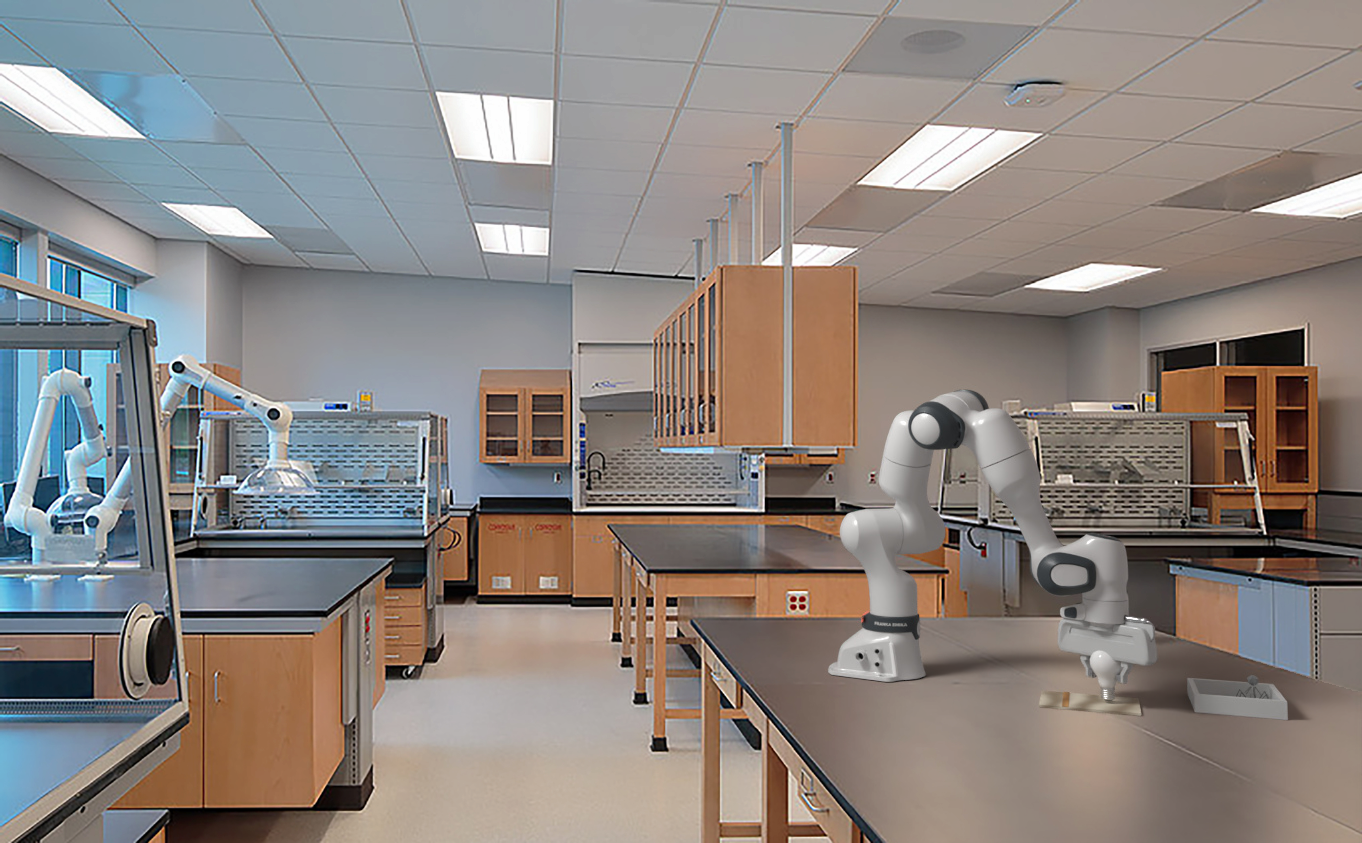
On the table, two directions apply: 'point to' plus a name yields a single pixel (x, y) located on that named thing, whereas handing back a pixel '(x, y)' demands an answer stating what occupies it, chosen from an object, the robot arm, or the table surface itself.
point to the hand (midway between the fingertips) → (1106, 680)
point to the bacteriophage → (1253, 681)
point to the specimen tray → (1236, 699)
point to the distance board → (1089, 703)
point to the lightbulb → (1105, 673)
